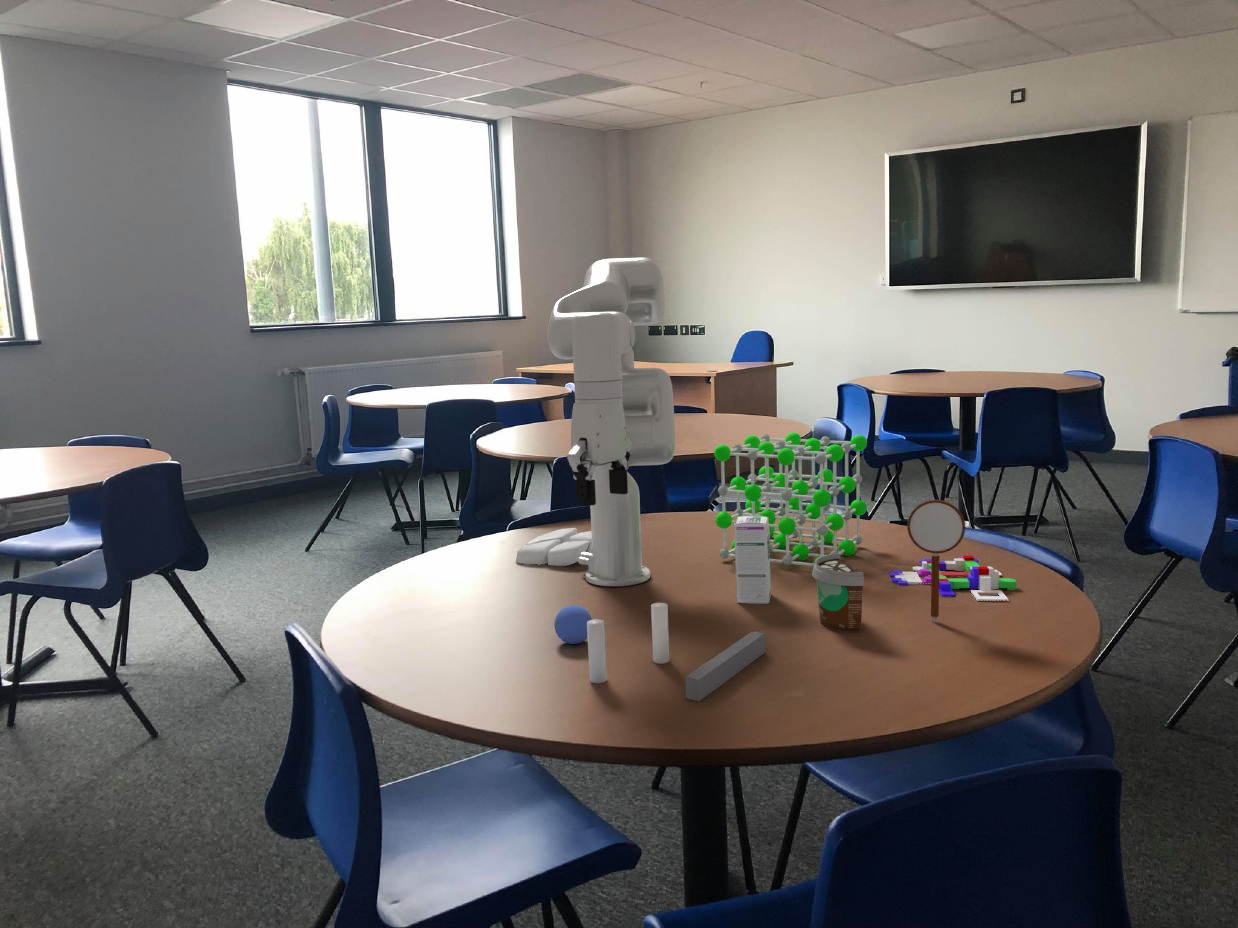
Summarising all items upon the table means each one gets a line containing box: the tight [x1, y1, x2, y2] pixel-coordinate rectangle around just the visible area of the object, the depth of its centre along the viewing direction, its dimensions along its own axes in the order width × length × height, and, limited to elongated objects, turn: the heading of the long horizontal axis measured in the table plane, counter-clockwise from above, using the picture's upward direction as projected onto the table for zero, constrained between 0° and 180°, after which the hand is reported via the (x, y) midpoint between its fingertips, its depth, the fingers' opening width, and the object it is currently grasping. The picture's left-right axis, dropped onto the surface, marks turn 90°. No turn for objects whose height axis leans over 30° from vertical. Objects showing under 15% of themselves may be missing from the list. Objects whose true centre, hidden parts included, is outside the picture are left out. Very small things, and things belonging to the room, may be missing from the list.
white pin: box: [650, 602, 670, 665], centre depth 137 cm, size 2×2×8 cm
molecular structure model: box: [713, 431, 868, 567], centre depth 192 cm, size 24×25×24 cm
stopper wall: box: [685, 631, 766, 702], centre depth 131 cm, size 2×20×3 cm, turn 146°
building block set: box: [888, 555, 1017, 602], centre depth 171 cm, size 25×20×4 cm
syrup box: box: [733, 516, 772, 605], centre depth 164 cm, size 6×6×14 cm
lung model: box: [515, 527, 593, 567], centre depth 203 cm, size 7×17×25 cm
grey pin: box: [587, 618, 608, 684], centre depth 130 cm, size 2×2×8 cm
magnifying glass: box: [906, 499, 966, 623], centre depth 148 cm, size 9×2×20 cm, turn 71°
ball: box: [554, 604, 593, 645], centre depth 146 cm, size 6×6×6 cm
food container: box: [811, 554, 865, 633], centre depth 150 cm, size 12×6×10 cm, turn 5°
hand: (603, 498), depth 149 cm, fingers open, 9 cm apart
